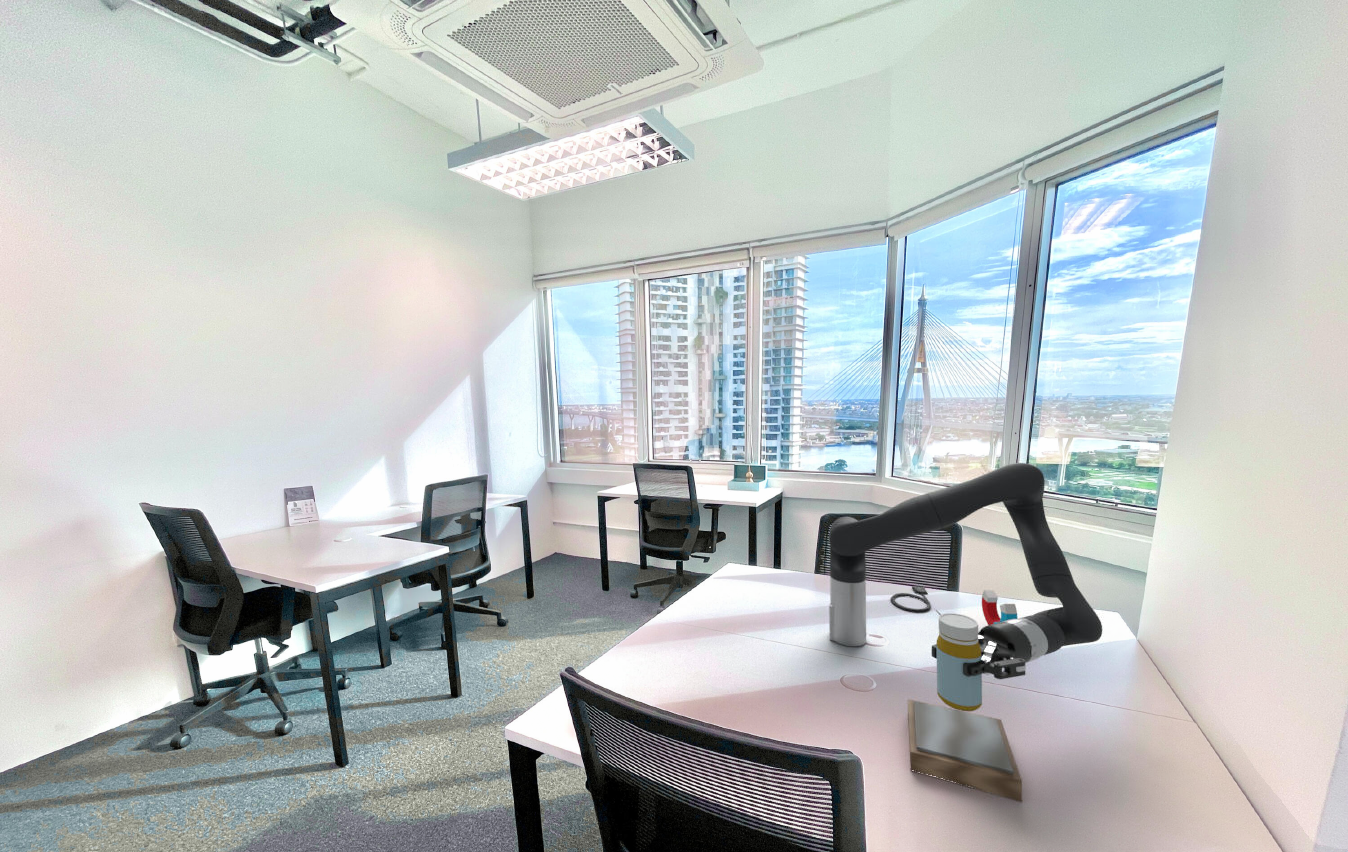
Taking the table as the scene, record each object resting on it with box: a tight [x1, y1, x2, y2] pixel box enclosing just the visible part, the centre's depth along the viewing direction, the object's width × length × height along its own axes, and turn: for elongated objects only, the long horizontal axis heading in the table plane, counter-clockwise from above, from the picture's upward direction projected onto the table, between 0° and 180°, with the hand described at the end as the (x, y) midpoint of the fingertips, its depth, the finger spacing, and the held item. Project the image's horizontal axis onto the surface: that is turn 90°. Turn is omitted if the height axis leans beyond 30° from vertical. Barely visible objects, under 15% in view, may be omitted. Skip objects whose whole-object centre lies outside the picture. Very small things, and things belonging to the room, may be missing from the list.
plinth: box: [907, 699, 1023, 803], centre depth 86 cm, size 16×16×4 cm
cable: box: [890, 585, 941, 616], centre depth 149 cm, size 14×28×2 cm, turn 167°
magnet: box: [981, 589, 1019, 626], centre depth 130 cm, size 12×3×10 cm, turn 176°
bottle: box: [935, 612, 983, 712], centre depth 85 cm, size 7×7×15 cm
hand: (948, 660), depth 84 cm, fingers closed on bottle, 5 cm apart
